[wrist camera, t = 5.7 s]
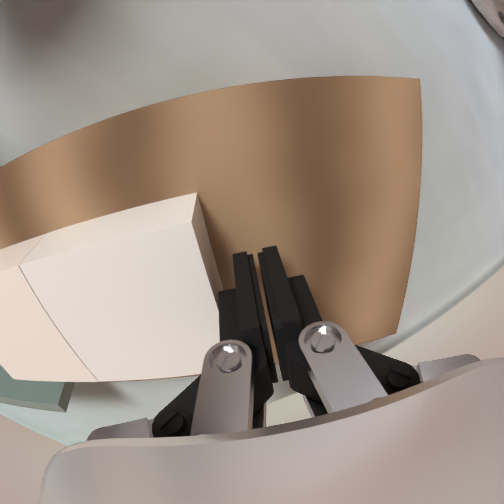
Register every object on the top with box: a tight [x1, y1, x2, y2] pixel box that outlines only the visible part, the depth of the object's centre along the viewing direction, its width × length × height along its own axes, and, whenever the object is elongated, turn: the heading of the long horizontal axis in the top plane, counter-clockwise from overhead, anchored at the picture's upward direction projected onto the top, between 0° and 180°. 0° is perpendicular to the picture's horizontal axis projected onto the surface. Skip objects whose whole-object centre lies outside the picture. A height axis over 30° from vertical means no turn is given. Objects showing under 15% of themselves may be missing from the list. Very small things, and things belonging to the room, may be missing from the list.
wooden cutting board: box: [0, 76, 422, 382], centre depth 14 cm, size 22×14×3 cm, turn 99°
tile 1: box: [0, 234, 98, 382], centre depth 11 cm, size 7×7×2 cm
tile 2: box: [19, 193, 223, 382], centre depth 11 cm, size 7×7×2 cm
